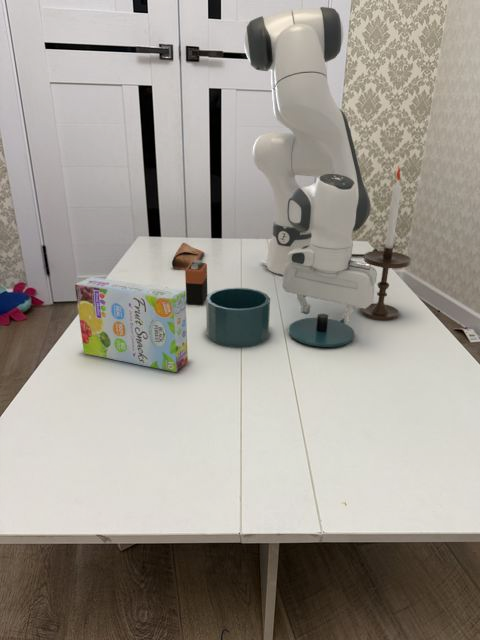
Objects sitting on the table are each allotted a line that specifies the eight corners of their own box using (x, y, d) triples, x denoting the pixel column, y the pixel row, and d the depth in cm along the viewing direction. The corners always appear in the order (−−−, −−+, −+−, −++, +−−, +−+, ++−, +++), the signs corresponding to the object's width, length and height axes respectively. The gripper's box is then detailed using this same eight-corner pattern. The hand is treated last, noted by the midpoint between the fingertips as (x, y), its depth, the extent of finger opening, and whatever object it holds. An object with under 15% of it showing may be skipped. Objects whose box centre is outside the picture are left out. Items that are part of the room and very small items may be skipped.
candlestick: (383, 325, 119) (407, 169, 104) (348, 311, 126) (365, 164, 111) (410, 314, 126) (435, 166, 110) (375, 302, 133) (394, 161, 117)
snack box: (189, 361, 100) (187, 289, 93) (176, 374, 95) (172, 299, 89) (98, 343, 106) (90, 274, 99) (81, 354, 101) (71, 283, 95)
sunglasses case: (200, 268, 153) (188, 249, 151) (180, 279, 155) (168, 260, 152) (205, 252, 169) (194, 235, 167) (187, 262, 171) (176, 245, 168)
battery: (207, 296, 133) (207, 259, 129) (202, 305, 127) (202, 267, 123) (191, 295, 134) (190, 258, 129) (185, 304, 128) (184, 266, 123)
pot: (228, 317, 121) (229, 283, 117) (279, 330, 115) (280, 295, 111) (195, 337, 110) (193, 301, 106) (248, 352, 104) (249, 314, 100)
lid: (305, 317, 122) (306, 299, 120) (363, 331, 116) (365, 312, 114) (277, 338, 111) (278, 319, 109) (339, 355, 104) (341, 334, 102)
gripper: (382, 261, 104) (374, 322, 110) (293, 246, 112) (290, 303, 119) (373, 269, 99) (364, 333, 105) (280, 252, 107) (278, 312, 114)
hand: (324, 317), depth 112 cm, fingers open, 8 cm apart
